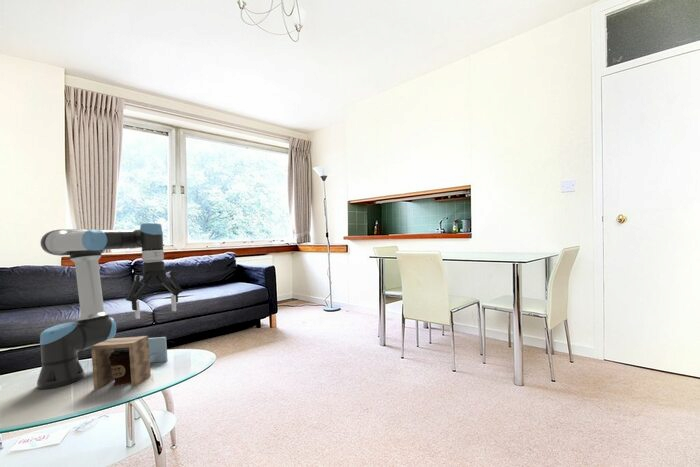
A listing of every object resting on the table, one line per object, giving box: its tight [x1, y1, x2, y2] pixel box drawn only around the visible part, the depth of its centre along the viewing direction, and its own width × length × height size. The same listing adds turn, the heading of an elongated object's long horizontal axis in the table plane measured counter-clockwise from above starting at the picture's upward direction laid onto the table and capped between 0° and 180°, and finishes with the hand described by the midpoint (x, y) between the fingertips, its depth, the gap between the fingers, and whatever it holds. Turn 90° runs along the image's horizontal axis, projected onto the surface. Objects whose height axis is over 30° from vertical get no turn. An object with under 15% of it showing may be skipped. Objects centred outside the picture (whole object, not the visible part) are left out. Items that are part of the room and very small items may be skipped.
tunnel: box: [90, 335, 152, 390], centre depth 137 cm, size 10×16×17 cm, turn 90°
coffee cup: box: [109, 348, 131, 387], centre depth 137 cm, size 9×8×13 cm
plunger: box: [148, 336, 169, 364], centre depth 151 cm, size 18×11×11 cm, turn 0°
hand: (156, 314), depth 137 cm, fingers open, 13 cm apart
